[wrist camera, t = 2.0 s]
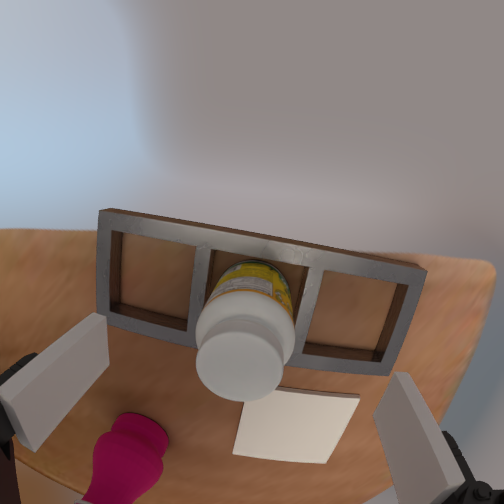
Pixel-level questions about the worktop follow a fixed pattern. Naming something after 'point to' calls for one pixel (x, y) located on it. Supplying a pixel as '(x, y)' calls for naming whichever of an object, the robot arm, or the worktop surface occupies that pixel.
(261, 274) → the supplement bottle
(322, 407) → the white mat
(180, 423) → the worktop surface
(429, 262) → the worktop surface
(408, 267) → the rack frame
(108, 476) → the pepper mill
